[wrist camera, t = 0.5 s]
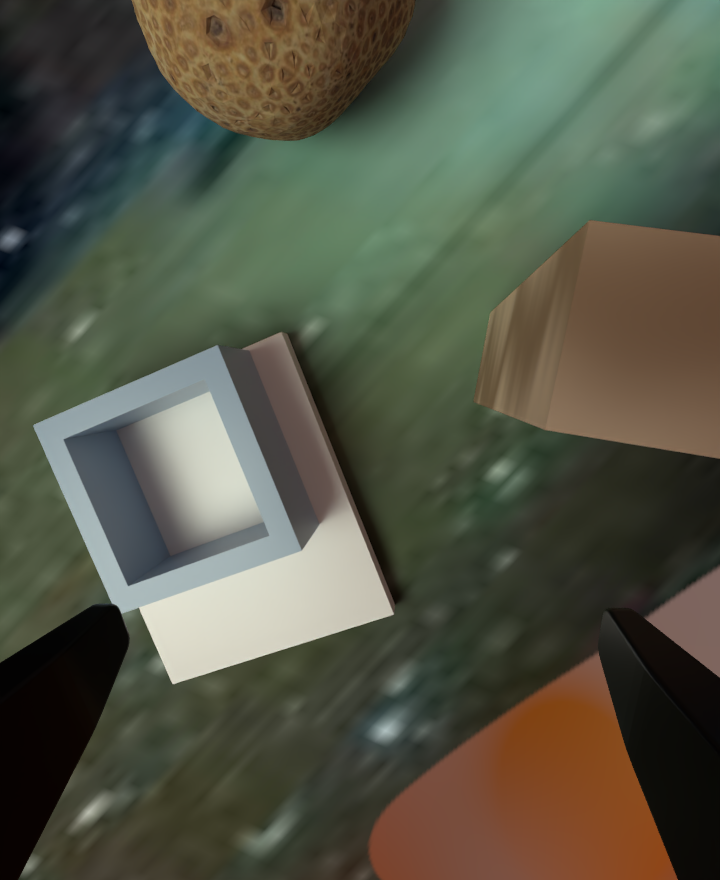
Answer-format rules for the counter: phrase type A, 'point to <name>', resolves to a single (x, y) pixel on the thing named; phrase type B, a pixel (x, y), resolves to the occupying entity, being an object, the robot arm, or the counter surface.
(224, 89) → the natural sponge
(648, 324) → the wooden post
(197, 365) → the well board
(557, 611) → the counter surface
